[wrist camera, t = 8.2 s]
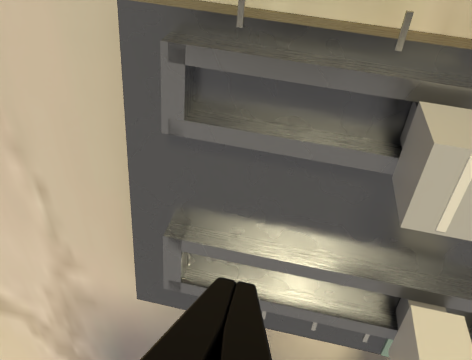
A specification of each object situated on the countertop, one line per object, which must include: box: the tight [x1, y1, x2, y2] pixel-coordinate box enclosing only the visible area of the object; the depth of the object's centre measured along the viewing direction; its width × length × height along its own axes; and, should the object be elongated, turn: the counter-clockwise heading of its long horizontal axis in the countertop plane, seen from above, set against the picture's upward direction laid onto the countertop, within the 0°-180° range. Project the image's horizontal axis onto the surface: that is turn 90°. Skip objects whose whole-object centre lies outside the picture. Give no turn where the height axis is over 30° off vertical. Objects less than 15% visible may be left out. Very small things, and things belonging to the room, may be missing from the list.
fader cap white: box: [388, 298, 472, 360], centre depth 21 cm, size 2×4×5 cm, turn 175°
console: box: [117, 0, 472, 357], centre depth 21 cm, size 22×19×3 cm
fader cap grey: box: [392, 101, 472, 241], centre depth 15 cm, size 2×3×5 cm
